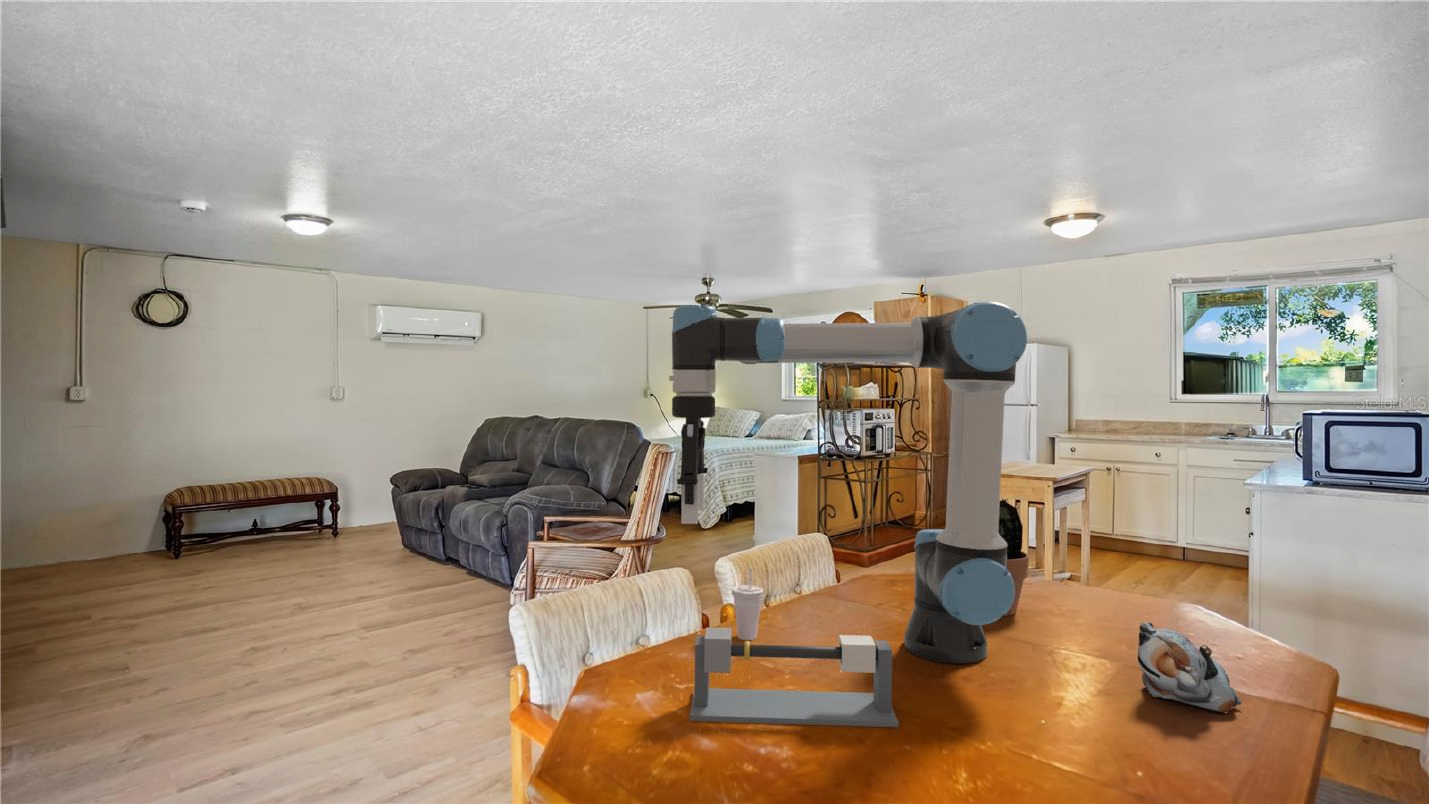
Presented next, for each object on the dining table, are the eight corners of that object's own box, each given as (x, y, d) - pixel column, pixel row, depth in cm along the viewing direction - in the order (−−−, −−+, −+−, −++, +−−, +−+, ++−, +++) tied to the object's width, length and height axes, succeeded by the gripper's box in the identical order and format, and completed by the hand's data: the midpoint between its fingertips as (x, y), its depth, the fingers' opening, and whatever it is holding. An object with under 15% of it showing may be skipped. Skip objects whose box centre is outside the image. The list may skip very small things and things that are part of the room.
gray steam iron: (1258, 718, 112) (1238, 647, 108) (1179, 741, 114) (1156, 673, 110) (1201, 655, 126) (1181, 591, 122) (1131, 677, 128) (1109, 614, 124)
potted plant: (952, 602, 171) (954, 495, 170) (1008, 600, 173) (1010, 495, 172) (980, 620, 157) (982, 505, 157) (1040, 619, 159) (1042, 505, 158)
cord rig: (885, 698, 118) (886, 627, 117) (898, 727, 108) (899, 649, 107) (694, 692, 119) (695, 622, 119) (689, 720, 109) (690, 644, 109)
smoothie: (760, 644, 142) (761, 572, 142) (728, 641, 143) (729, 570, 143) (765, 633, 148) (765, 564, 148) (734, 630, 150) (734, 562, 149)
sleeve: (870, 662, 115) (871, 635, 115) (875, 672, 111) (875, 645, 110) (838, 661, 115) (839, 635, 115) (842, 671, 111) (842, 644, 111)
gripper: (679, 393, 140) (679, 504, 140) (663, 395, 115) (662, 529, 115) (718, 394, 139) (718, 504, 140) (710, 396, 114) (710, 530, 115)
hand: (693, 516), depth 128 cm, fingers open, 13 cm apart
